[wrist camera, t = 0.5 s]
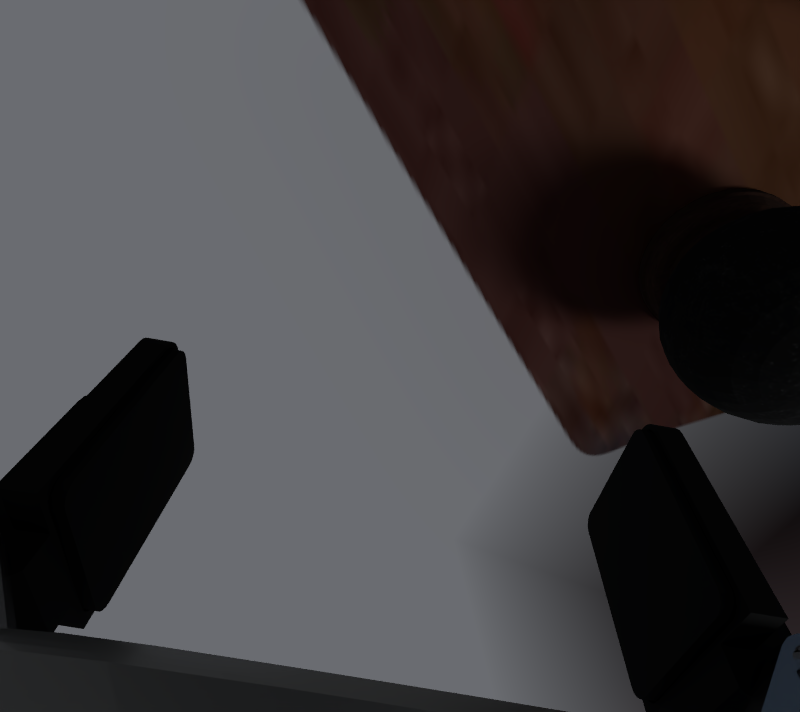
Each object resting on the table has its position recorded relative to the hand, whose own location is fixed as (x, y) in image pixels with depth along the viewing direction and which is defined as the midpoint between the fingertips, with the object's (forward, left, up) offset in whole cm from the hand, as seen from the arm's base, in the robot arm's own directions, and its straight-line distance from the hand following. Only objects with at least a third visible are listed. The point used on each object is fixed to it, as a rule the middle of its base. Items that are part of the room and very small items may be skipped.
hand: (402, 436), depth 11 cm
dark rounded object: (-14, +18, -30) cm, 38 cm away
